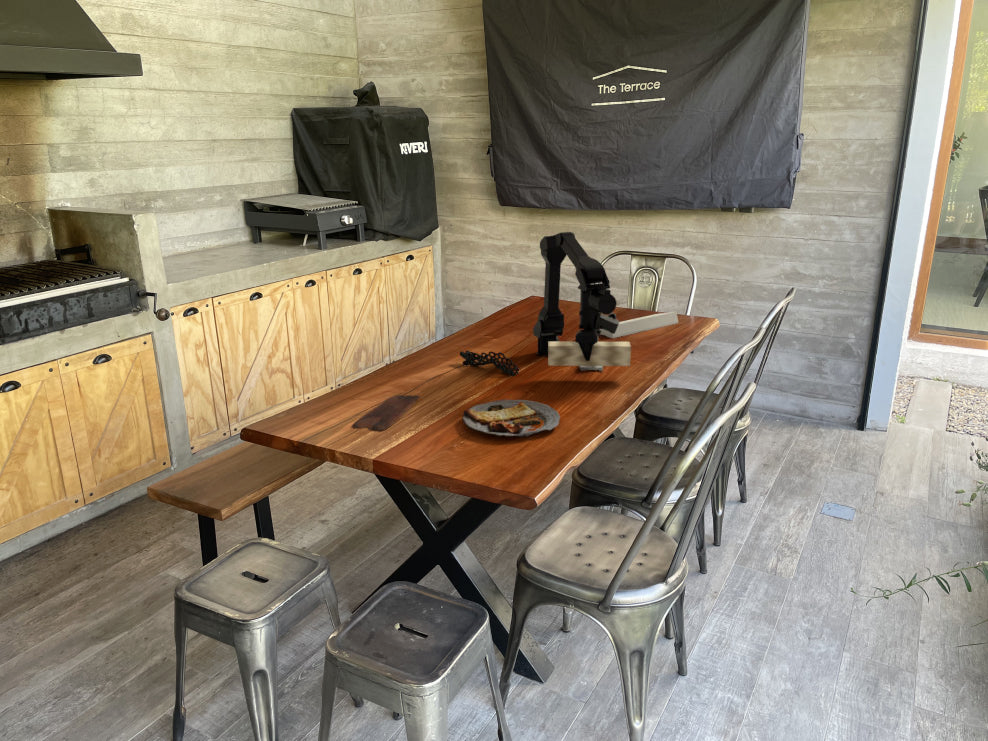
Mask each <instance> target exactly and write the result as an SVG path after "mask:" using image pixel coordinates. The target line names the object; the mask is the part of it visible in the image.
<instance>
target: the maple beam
mask: <svg viewBox="0 0 988 741" xmlns="http://www.w3.org/2000/svg"><path fill="white" fill-rule="evenodd" d="M631 353H632V346H631V342H630V341H598V342H597V343H595V344H594V345H593V348H592V352H591V357H590V361H586V360H585V357H584V355H583V353H582V350H581V348H580V346H579V344H578V343H577V342H575V341H568V340H567V341H565V340H564V341H563V340H562V341H561V340H559V341H548V359H547V363H548V364H547V365H548V366H549V367H550V366H553V367H554V366H559V367H561V366H562V367H564V366H565V367H566V366H567V367H572V366H573V367H575V366H576V367H580V366H604V367H631Z"/></svg>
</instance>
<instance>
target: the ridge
mask: <svg viewBox="0 0 988 741" xmlns="http://www.w3.org/2000/svg"><path fill="white" fill-rule="evenodd" d="M580 369H581V370H580ZM579 370H580V371H585V370H599V371H598V372H603V370H604V367H603V366H579Z"/></svg>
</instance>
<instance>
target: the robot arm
mask: <svg viewBox="0 0 988 741" xmlns="http://www.w3.org/2000/svg"><path fill="white" fill-rule="evenodd" d="M539 249H540V256H541V257H542V259H543V261H544V262H545V269H544V270H545V271H544V292H543V295H544V298H543V306H542V308H541V309H540V311H539V313H538V315H537V321H536V323H535V324H534V326H533V328H532V332H533V336H534V337H535V338H537V352H536V355H537V356H542V357H543V356H546V357H547V356H548V341H560V339H559V337H560V336H563V333H564V328H565V315H564V313H562V311H561V309H560V289H561V288H560V287H561V286H560V285H561V271H562V270H561V268H562V267H561V266H562V263H563V262H564V260H565V259H566V257H567V258H568V259H569V260H570V261H571V263H572V265H573V266H574V267H575V274H574V275H575V276H576V279H577V281H578V283H579V285H578V286H577V289H578V290H580V304H579V305H580V306H579V307H580V309H579V311H578V315H579V325H578V329H579V330H578V331H577V332H576V333H575V342H577V343H578V344H579V346H580V348H581V350H582V353H583V355H584V357H585V360H586V361H590V357H591V352H592V348H593V345H594V344H595V343H597V342H599V336H600V335H599V334H600V333H601V331H600V329H604V330H606V331H609V332H610V333H612V334H615V332H616V330H617V327H618V325H619V322H620V320H619V319H617V314H616V313H614V311H615V310H616V308H617V303H618V302H617V300H616V298H615V296H614V295H612V294H611V290H610V289H611V286H610V283H611V282H610V280H609V277H608V275H607V272H606V269H605V267H604V265H603V264H602V263H601V262H600V261H599V260H598V259H595V258H593V257H591V256H590V255H588V253H587V252H586V250H585V249H584V248H583V247H582V245H581V244H580V243H579V241H578V240H577V239H576V235H575V233H574V232H573V231H564V232H558V233H556V234H554V235H545V236H543V237H542V238H541V240H540V242H539ZM558 336H559V337H558Z"/></svg>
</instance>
